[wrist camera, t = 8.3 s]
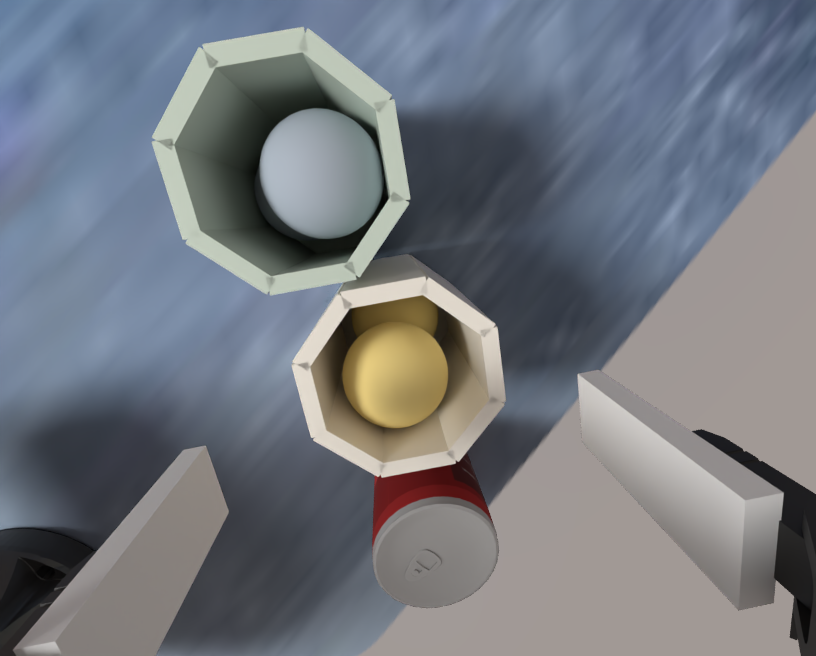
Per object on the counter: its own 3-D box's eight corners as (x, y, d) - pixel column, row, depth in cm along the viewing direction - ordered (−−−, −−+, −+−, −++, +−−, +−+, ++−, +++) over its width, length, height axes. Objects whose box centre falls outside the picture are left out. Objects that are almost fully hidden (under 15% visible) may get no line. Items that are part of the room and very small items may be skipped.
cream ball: (363, 366, 30) (357, 368, 24) (348, 289, 31) (339, 272, 25) (440, 351, 31) (452, 349, 25) (424, 275, 31) (433, 255, 25)
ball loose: (360, 340, 27) (357, 432, 25) (330, 310, 21) (323, 425, 20) (449, 335, 26) (453, 430, 24) (442, 303, 20) (446, 423, 19)
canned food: (360, 476, 35) (350, 588, 24) (400, 400, 33) (409, 484, 23) (437, 506, 36) (460, 625, 26) (480, 434, 35) (523, 529, 24)
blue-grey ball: (254, 253, 20) (330, 241, 17) (219, 125, 19) (295, 80, 15) (340, 235, 25) (416, 223, 21) (318, 131, 23) (396, 97, 19)
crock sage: (278, 271, 30) (204, 307, 17) (242, 132, 27) (124, 57, 15) (405, 248, 30) (421, 267, 17) (381, 108, 27) (380, 13, 15)
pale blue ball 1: (299, 242, 30) (248, 252, 24) (279, 156, 28) (219, 146, 23) (374, 229, 28) (337, 237, 22) (356, 136, 26) (312, 120, 21)
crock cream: (346, 385, 33) (324, 488, 20) (319, 269, 30) (275, 303, 17) (462, 364, 33) (512, 452, 20) (445, 246, 30) (490, 264, 18)
